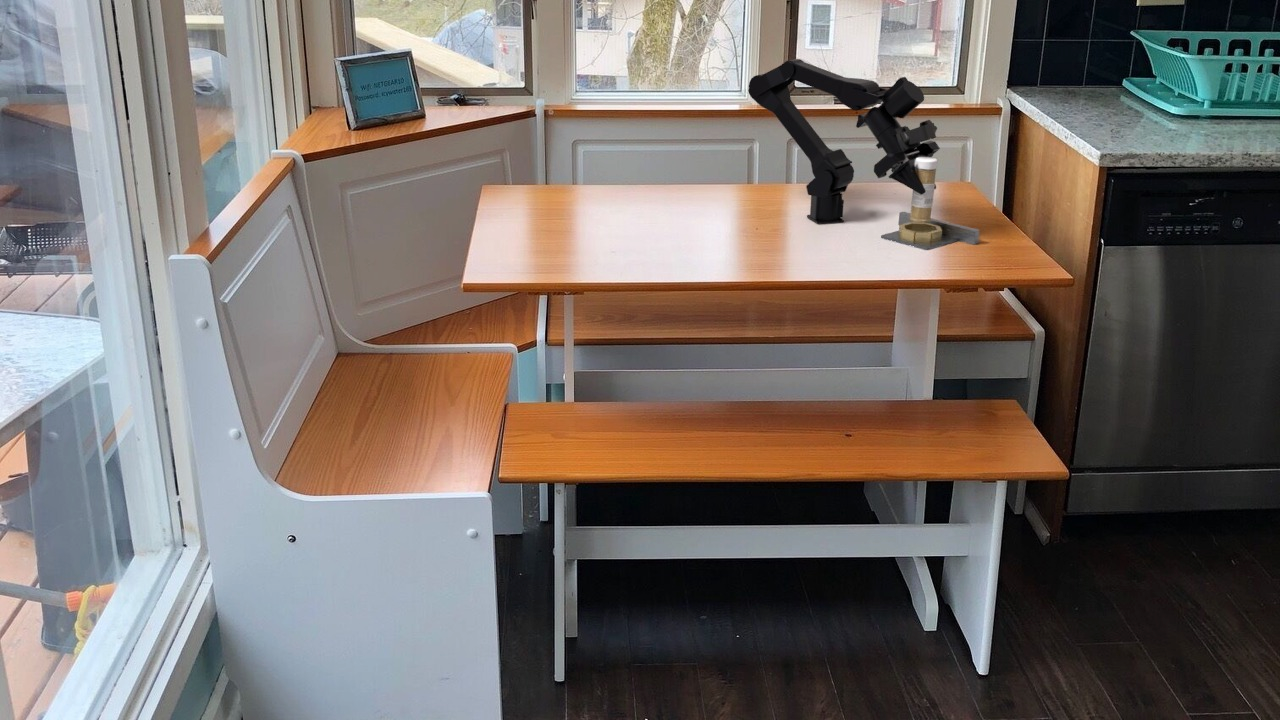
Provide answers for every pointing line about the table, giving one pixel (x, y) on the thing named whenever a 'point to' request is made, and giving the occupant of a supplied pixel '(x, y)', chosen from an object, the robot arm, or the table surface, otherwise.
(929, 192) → the sprinkles bottle
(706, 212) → the table surface
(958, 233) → the plate
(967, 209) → the table surface
